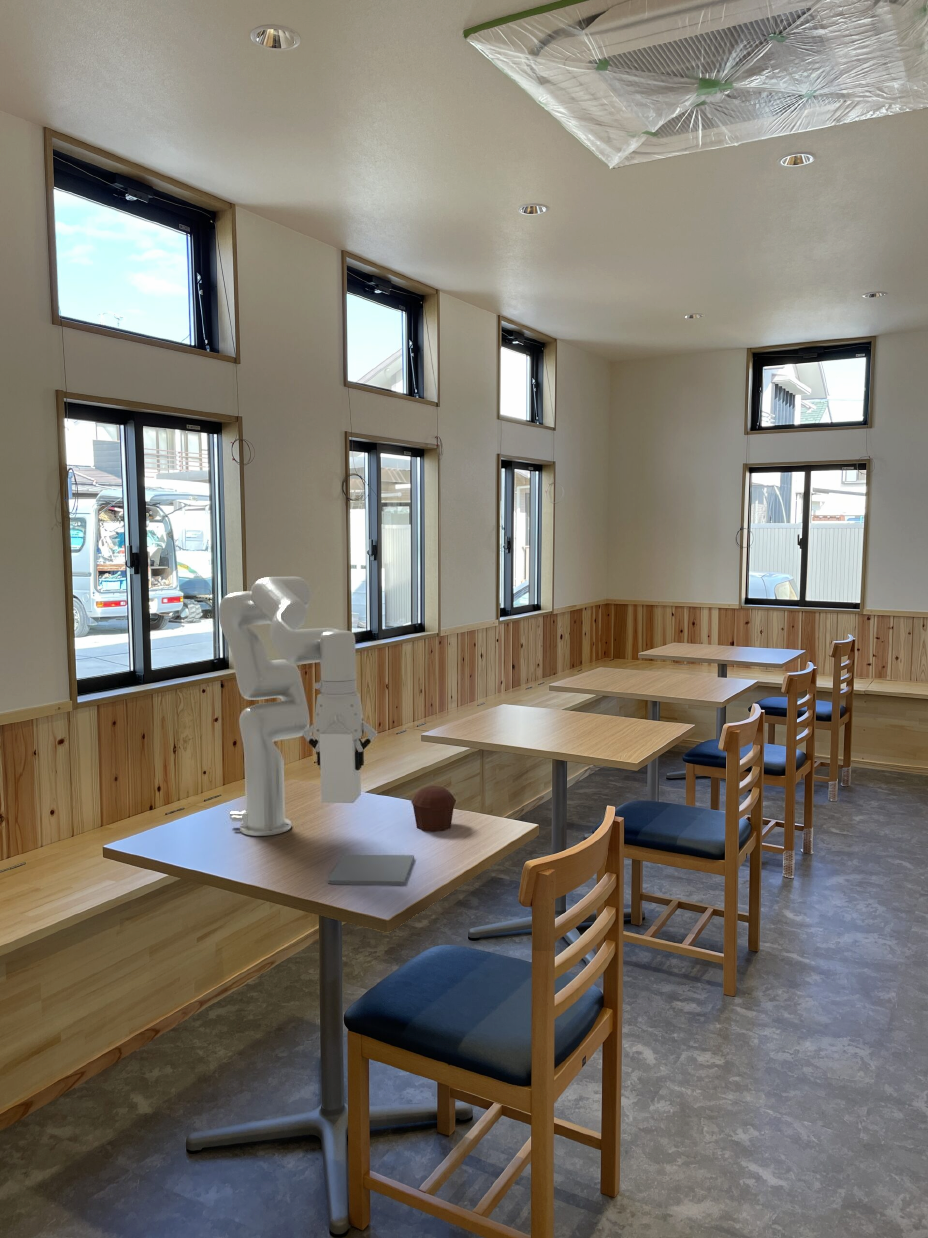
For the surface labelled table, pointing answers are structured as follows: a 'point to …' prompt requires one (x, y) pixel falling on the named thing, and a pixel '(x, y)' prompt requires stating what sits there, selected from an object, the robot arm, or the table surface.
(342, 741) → the milk carton
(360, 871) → the mat
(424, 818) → the muffin
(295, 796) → the table surface
